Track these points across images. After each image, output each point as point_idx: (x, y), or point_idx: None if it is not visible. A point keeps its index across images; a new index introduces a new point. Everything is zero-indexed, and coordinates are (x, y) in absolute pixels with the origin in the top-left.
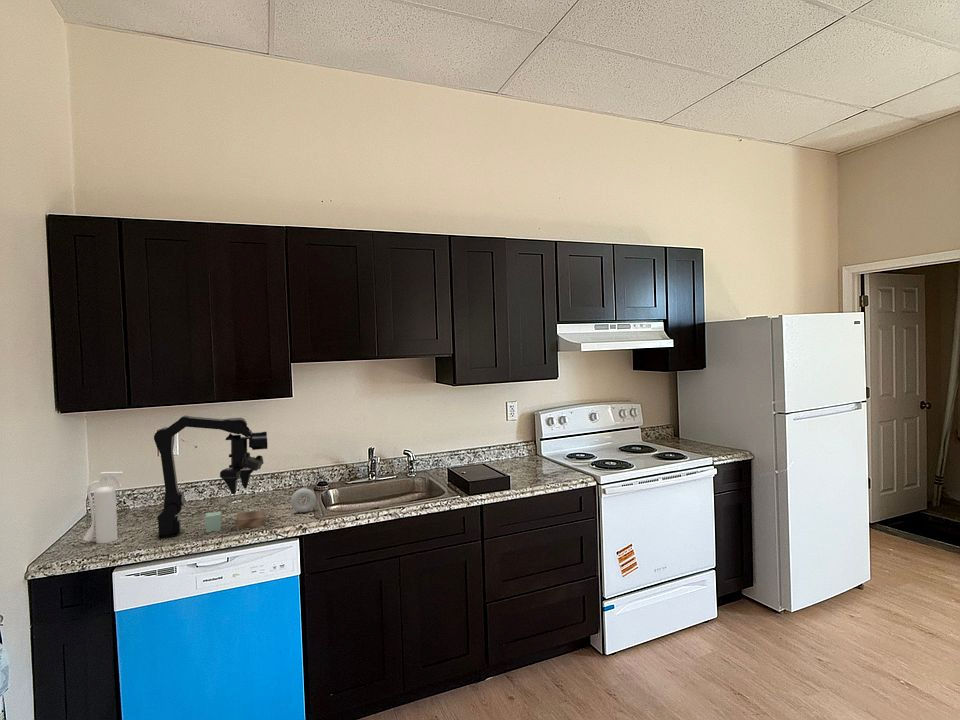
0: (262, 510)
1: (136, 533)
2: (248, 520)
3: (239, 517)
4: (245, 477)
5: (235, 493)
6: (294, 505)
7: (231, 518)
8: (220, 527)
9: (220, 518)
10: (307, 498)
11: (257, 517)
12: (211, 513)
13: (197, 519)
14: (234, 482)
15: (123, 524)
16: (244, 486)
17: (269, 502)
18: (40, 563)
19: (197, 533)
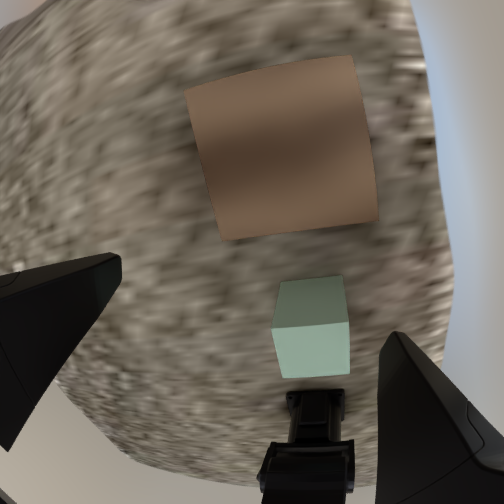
0: (192, 99)
1: (269, 446)
2: (369, 148)
3: (311, 212)
4: (28, 334)
5: (397, 332)
6: None
7: (166, 262)
8: (343, 283)
9: (331, 308)
10: None
11: (349, 96)
12: (295, 361)
13: (168, 362)
14: (500, 449)
15: (196, 454)
16: (111, 282)
17: (18, 167)
18: None
19: None
